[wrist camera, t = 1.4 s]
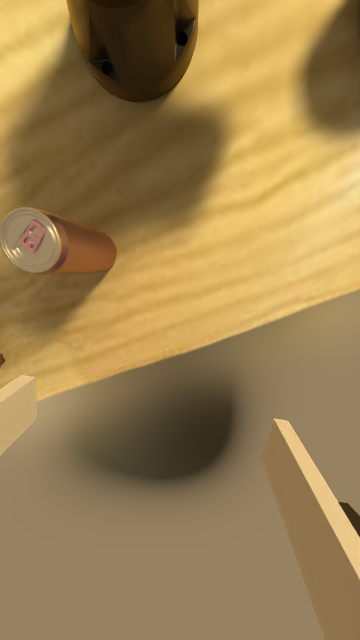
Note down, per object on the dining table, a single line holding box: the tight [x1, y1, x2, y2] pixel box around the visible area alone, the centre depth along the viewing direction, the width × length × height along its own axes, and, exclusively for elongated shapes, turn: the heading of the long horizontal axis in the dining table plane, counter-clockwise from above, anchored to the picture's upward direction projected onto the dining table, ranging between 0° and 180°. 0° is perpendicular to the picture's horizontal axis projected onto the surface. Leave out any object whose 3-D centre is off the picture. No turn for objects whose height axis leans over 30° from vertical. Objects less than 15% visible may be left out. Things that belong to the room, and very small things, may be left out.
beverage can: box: [0, 207, 116, 274], centre depth 26 cm, size 6×6×15 cm
